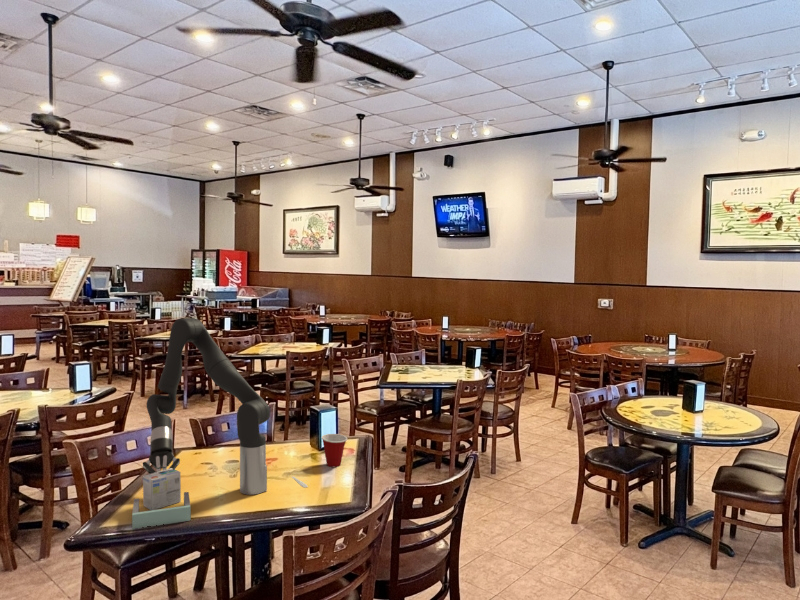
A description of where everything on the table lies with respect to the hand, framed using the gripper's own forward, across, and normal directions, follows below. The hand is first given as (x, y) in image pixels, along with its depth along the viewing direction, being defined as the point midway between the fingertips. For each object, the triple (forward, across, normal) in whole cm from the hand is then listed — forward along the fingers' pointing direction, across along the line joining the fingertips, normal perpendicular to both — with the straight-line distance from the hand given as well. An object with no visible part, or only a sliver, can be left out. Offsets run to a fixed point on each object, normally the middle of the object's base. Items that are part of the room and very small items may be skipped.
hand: (161, 485), depth 197 cm
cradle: (+14, 0, -7) cm, 15 cm away
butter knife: (0, +47, +8) cm, 48 cm away
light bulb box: (+7, 0, 0) cm, 7 cm away
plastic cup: (-6, +67, +13) cm, 68 cm away
